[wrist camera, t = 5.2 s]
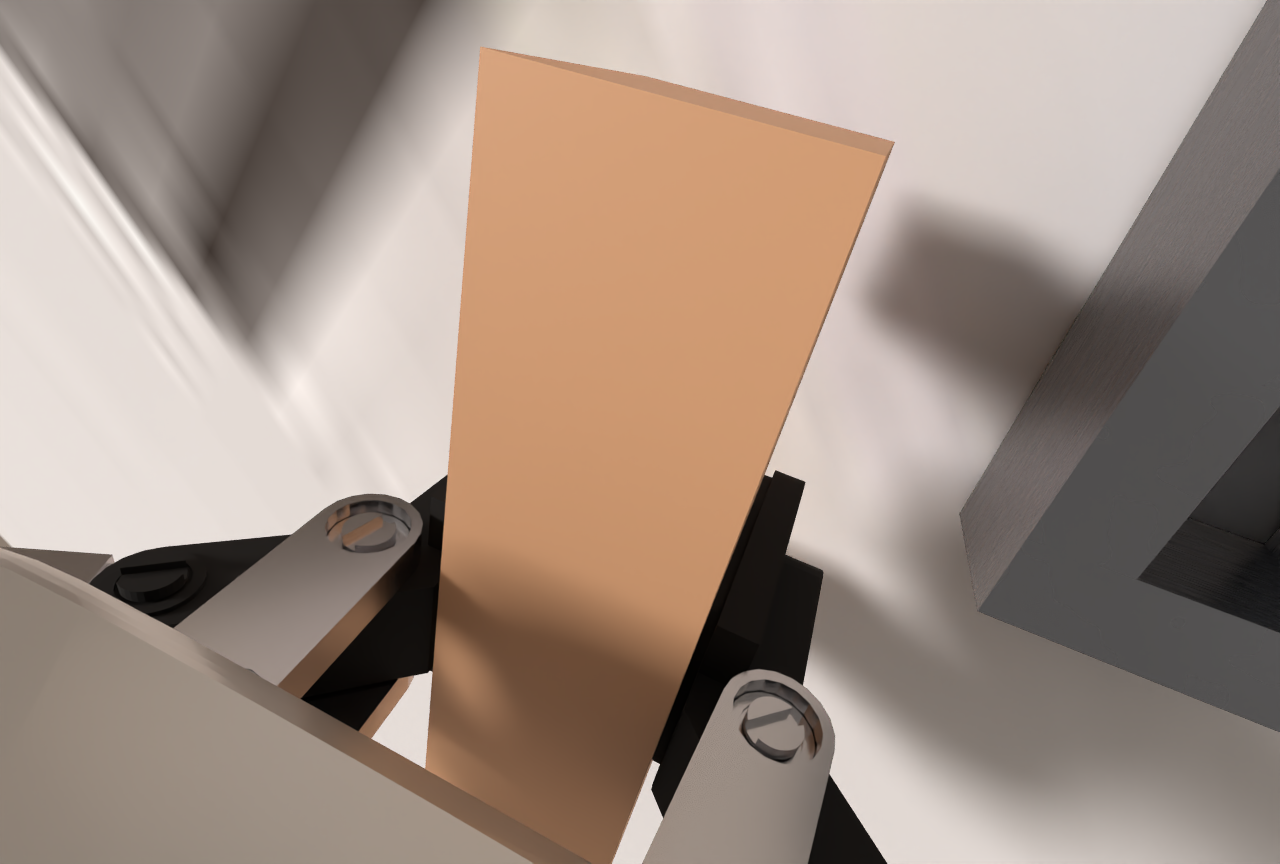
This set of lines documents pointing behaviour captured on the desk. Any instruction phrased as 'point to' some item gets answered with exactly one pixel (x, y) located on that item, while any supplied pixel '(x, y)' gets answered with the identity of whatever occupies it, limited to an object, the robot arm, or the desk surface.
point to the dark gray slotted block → (1158, 427)
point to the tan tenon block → (615, 412)
